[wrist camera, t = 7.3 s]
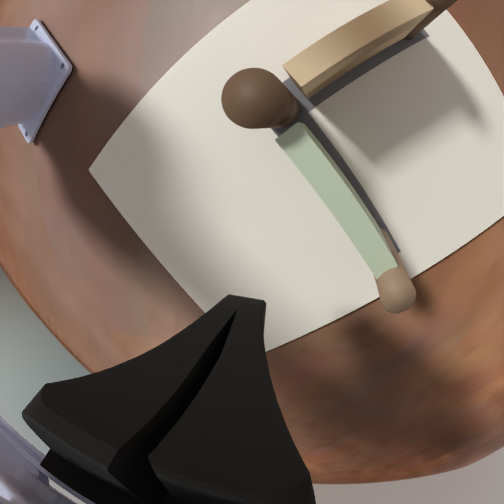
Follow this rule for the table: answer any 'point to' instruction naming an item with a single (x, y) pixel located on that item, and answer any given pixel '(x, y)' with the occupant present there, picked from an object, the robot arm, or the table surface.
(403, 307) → the hinged panel
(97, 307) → the table surface
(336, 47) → the fixed fence
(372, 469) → the table surface
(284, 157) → the board
